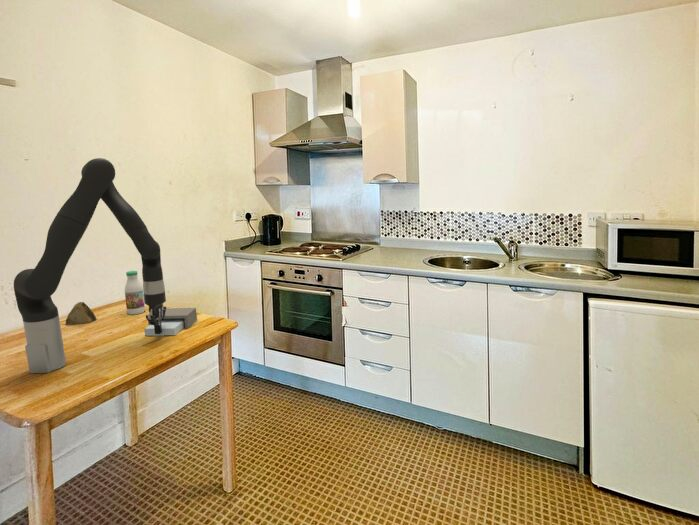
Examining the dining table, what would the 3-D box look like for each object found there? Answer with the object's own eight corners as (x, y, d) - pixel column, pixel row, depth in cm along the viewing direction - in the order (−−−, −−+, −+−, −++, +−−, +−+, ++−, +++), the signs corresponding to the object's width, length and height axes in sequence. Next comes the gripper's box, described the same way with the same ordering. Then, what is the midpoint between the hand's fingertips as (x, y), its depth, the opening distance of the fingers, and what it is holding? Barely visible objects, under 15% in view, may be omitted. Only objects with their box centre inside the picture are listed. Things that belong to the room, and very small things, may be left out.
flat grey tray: (175, 335, 158) (174, 327, 157) (145, 335, 158) (144, 328, 157) (190, 321, 174) (190, 315, 173) (163, 322, 174) (162, 315, 173)
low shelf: (188, 328, 166) (187, 315, 165) (148, 329, 165) (147, 316, 164) (197, 319, 176) (196, 307, 175) (160, 320, 176) (158, 308, 175)
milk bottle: (128, 311, 190) (123, 270, 186) (145, 308, 193) (141, 269, 189) (126, 315, 183) (121, 273, 179) (145, 313, 186) (140, 272, 182)
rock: (56, 321, 168) (76, 319, 167) (62, 303, 172) (82, 300, 171) (77, 329, 178) (96, 327, 176) (82, 311, 182) (101, 309, 180)
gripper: (156, 295, 146) (160, 339, 150) (171, 286, 159) (174, 327, 163) (135, 295, 146) (140, 339, 149) (152, 287, 159) (156, 327, 162)
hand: (158, 333), depth 156 cm, fingers closed
